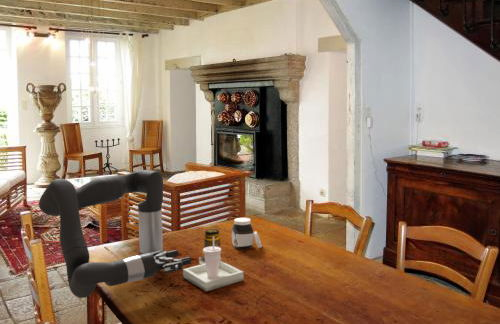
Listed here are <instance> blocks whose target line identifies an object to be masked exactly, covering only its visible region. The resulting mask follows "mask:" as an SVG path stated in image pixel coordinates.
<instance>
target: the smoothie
mask: <svg viewBox="0 0 500 324" xmlns="http://www.w3.org/2000/svg"><path fill="white" fill-rule="evenodd" d="M221 253H222V248H221V246H220V247H216V246H214V237H213V246H210V247H205V248H203V249H202V254H203V257H205V264H206V271H207V277H209V278H216V277H218V272H219V262H220V256H221Z"/></svg>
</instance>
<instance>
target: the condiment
mask: <svg viewBox="0 0 500 324" xmlns="http://www.w3.org/2000/svg"><path fill="white" fill-rule="evenodd" d="M204 233H205V234H204V239H203V240H204V241H203V242H204V246H203V247H204V248H205V247H210V246H213V237H214V246H216V247H220V248H221V237H220V230H219V229H217V228H207V229H206V230H205V231H204ZM204 248H203V249H204ZM220 260H221V261H222V257H221V255H220ZM198 263H199V264H198V265H201V264H205V257H204V256H199V257H198Z"/></svg>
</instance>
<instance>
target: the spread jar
mask: <svg viewBox="0 0 500 324" xmlns="http://www.w3.org/2000/svg"><path fill="white" fill-rule="evenodd" d="M233 220H234V221H233V223H234V224H232V228H231V242H232V245H233V247H234V248H235V249H236V250H249V249H250V248H252V247H253V246H254V242H255V244H256V246H257V248H258V249H261V248H262V246H263V245H262V241H261V239H260V235H259V233H258V231H257V230H256V231H254V228H253V226H252V224H251V221H252V220H251V218H249V217H237V218H234V219H233Z"/></svg>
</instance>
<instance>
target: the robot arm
mask: <svg viewBox="0 0 500 324" xmlns="http://www.w3.org/2000/svg"><path fill="white" fill-rule="evenodd" d="M130 193H142V194H146V196H145V197H146V198H145V200H143V201H140V202H139V203H137V215H138V217H137V218H138V239H139V240H138V241H139V253H140V254H138V255H132V256H128V257H126V258H123V259H119V260H115V261H114V260H113V261H110V262H105V261H103V262H100V261H99V262H97V261H95V262H94V261H93V262H91V261H90V251H89V249H88V245H87V243H86V239H85V236H84V233H83V228H82V223H81V217H80V209H84V208H87V207H92V206H96V205H101V204H105V203H106V204H107V203H111V202H114V201H117V200H120V199H121V198H123V196H124V195H127V194H130ZM163 203H164V178H163V175H162V174H161V173H160V172H159V171H157V170H152V169H151V170H150V169H139V170H136V171H132V172H129V173H128V174H122V175H121V174H120V175H116V174H115V175H109V176H108V175H107V176H103V177H98V178H95V179H92V180H90V181H89V182H87V183H84V184H83V185H82V186H80V187H78V188H76V187H75V185H74V184H73V183H72V182H71V181H70V180H67V179H66V178H55V179H53V180H52V181H50V183H49V184H48V186H47V187H46V188H45V190H44V191H43V193H42V195H41V196H40V199H39V202H38V206H39V207H38V208H39V209H40V211H41V212H42V213H43V214H45V215H47V216H52V217H59V220H60V221H59V222H60V223H59V242H60V248H61V249H60V250H61V253H62V255H63V259H64V262H65V265H66V275H67V282H68V283H67V284H68V287H69V290H70V292H71V294H73V296H75V297H77V298H80V299H83V298H88V297H90V295H92V294H93V292H94V291H95V289H96V286H97V284H101V283H104V284H105V285H107V286H108V287H114V286H119V285H122V284H127V283H133V282H137V281H141V280H145V279H148V278H153V277H154V276H156V274H157V273H158V271H164V272H163V273H164V274H169V273H172V272H177V271H181V270H182V271H183V266H186V265H187V266H188V265H191V264H192V257H190V256H186V257H183V258H179V259H178V256H179V250H177V249H175V250H170V251H169V250H168V251H166V250H165V251H164V247H163V246H164V245H163V244H164V243H163V241H164V240H163V237H164V236H163V216H162V215H163V214H162V213H163V212H162V210H163V209H162V205H163Z"/></svg>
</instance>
